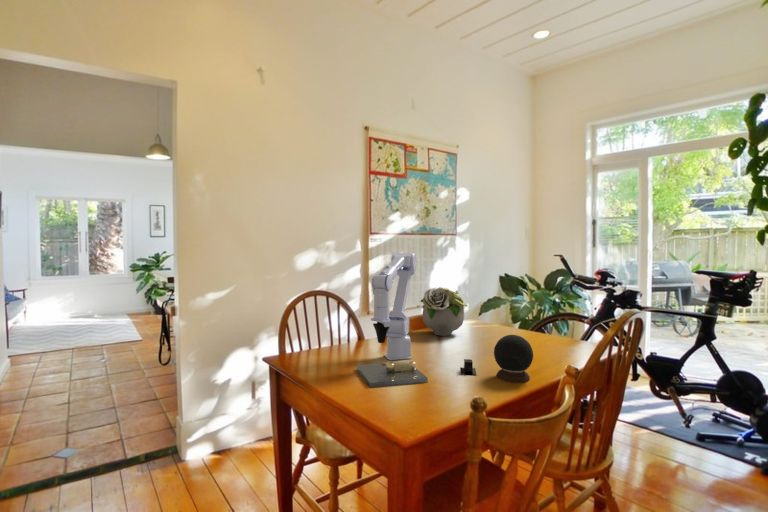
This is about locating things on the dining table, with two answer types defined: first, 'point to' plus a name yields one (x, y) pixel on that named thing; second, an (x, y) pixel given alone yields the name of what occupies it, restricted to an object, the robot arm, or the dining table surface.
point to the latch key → (400, 366)
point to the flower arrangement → (443, 310)
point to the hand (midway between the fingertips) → (381, 342)
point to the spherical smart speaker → (513, 358)
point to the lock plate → (389, 376)
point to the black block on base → (468, 368)
